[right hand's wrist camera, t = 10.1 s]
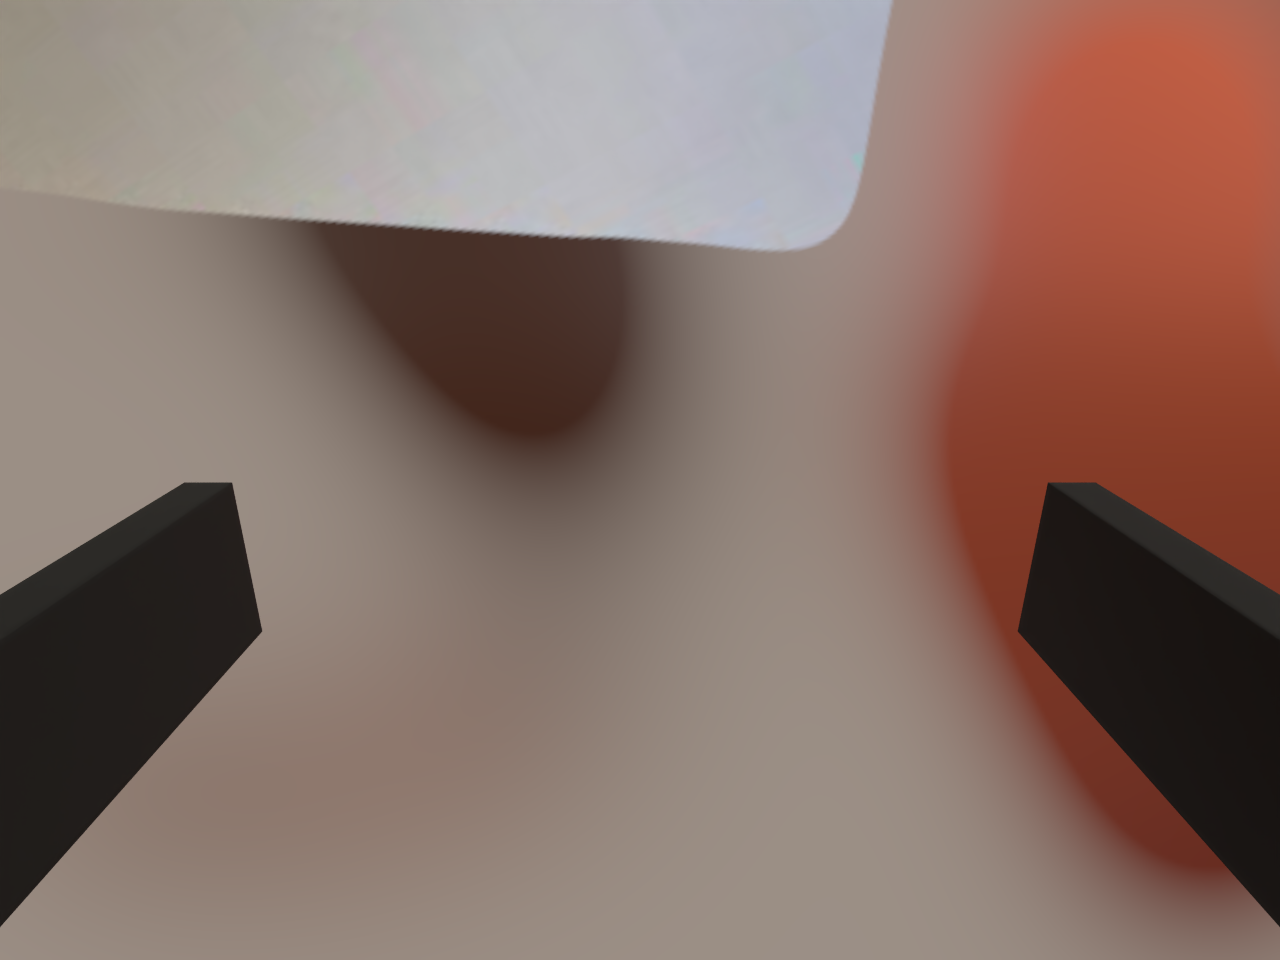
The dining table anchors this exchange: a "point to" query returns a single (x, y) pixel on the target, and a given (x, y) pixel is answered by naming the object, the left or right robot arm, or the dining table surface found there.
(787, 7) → the dining table surface
